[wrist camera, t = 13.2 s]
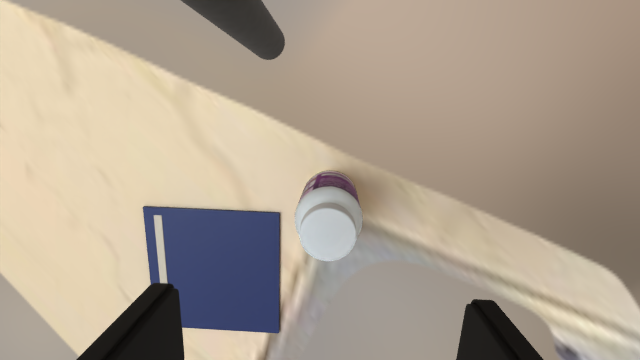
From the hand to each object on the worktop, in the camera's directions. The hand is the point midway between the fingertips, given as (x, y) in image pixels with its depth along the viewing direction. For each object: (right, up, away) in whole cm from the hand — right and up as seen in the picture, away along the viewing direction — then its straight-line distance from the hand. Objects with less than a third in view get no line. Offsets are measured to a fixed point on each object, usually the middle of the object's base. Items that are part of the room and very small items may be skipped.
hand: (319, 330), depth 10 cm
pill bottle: (+1, +3, +21) cm, 21 cm away
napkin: (-11, -5, +23) cm, 26 cm away
